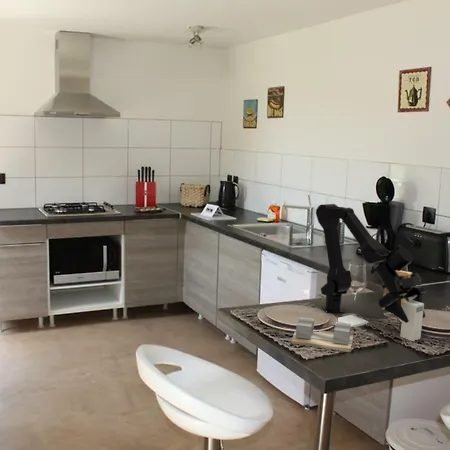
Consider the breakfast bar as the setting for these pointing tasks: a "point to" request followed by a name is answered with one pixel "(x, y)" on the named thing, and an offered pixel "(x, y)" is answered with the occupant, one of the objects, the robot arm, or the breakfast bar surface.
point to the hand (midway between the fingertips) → (415, 319)
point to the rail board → (323, 336)
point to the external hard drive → (352, 320)
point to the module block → (412, 320)
